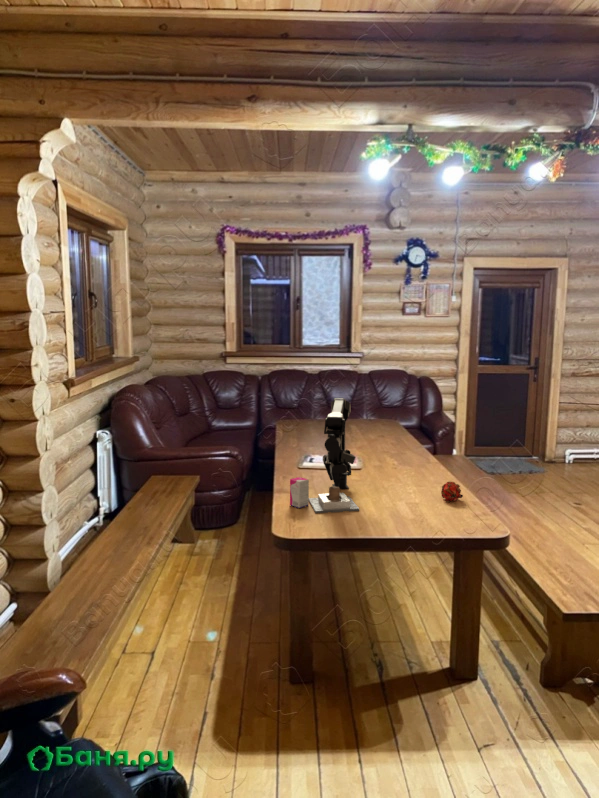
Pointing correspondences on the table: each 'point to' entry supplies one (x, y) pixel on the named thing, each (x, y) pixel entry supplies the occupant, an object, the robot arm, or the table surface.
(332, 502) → the jig
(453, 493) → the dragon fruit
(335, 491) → the walnut dowel
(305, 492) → the supplement box
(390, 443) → the table surface
